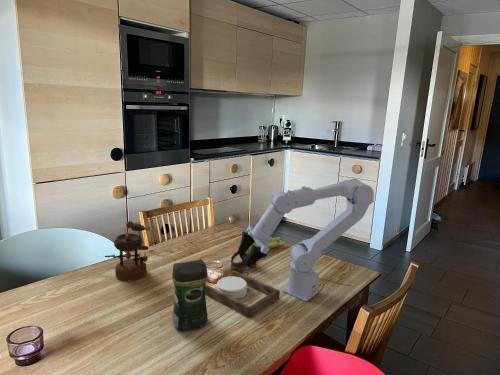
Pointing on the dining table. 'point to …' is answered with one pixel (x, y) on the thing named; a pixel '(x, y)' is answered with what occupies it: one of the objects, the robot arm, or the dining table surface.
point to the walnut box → (241, 307)
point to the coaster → (232, 286)
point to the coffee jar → (189, 295)
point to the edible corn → (268, 243)
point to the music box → (130, 242)
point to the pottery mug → (241, 264)
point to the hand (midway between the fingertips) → (243, 259)
